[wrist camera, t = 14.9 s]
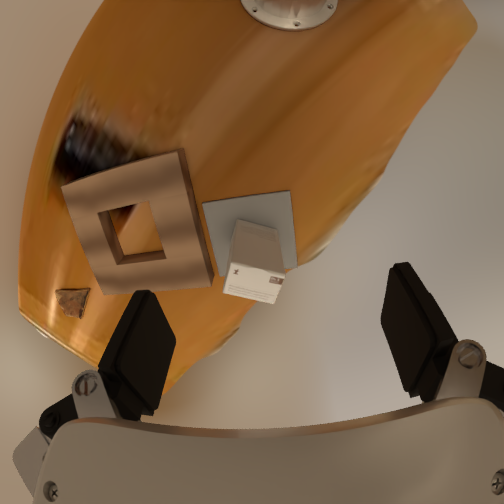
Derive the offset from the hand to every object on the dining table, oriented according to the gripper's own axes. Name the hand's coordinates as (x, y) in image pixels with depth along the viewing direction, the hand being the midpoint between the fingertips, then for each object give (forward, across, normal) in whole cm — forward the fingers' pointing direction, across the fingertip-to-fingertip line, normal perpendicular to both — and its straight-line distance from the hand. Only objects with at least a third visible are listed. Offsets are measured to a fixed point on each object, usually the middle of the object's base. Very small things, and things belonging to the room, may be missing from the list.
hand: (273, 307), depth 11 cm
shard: (+27, +43, +19) cm, 54 cm away
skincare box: (+27, +3, +11) cm, 30 cm away
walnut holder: (+27, +21, +7) cm, 35 cm away
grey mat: (+28, +4, +11) cm, 30 cm away
